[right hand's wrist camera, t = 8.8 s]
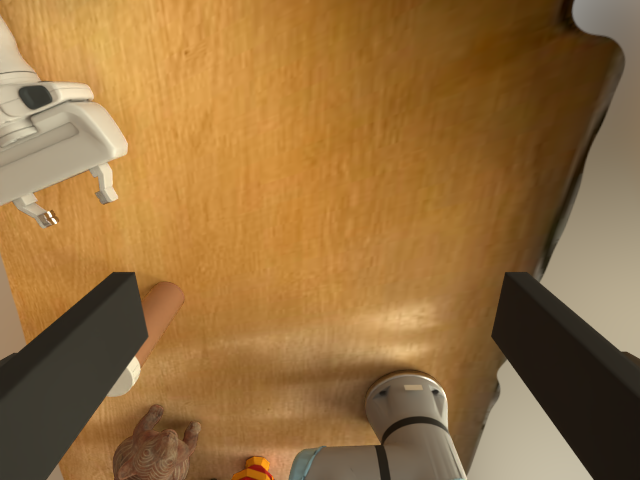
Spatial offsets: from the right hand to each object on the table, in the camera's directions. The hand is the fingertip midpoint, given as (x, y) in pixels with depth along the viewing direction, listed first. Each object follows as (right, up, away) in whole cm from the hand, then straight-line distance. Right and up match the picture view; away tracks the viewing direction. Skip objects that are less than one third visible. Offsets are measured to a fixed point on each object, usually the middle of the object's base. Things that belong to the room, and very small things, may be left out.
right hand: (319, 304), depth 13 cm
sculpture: (-30, -34, +58) cm, 74 cm away
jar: (-26, -7, +47) cm, 54 cm away
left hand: (-32, +6, +35) cm, 48 cm away
